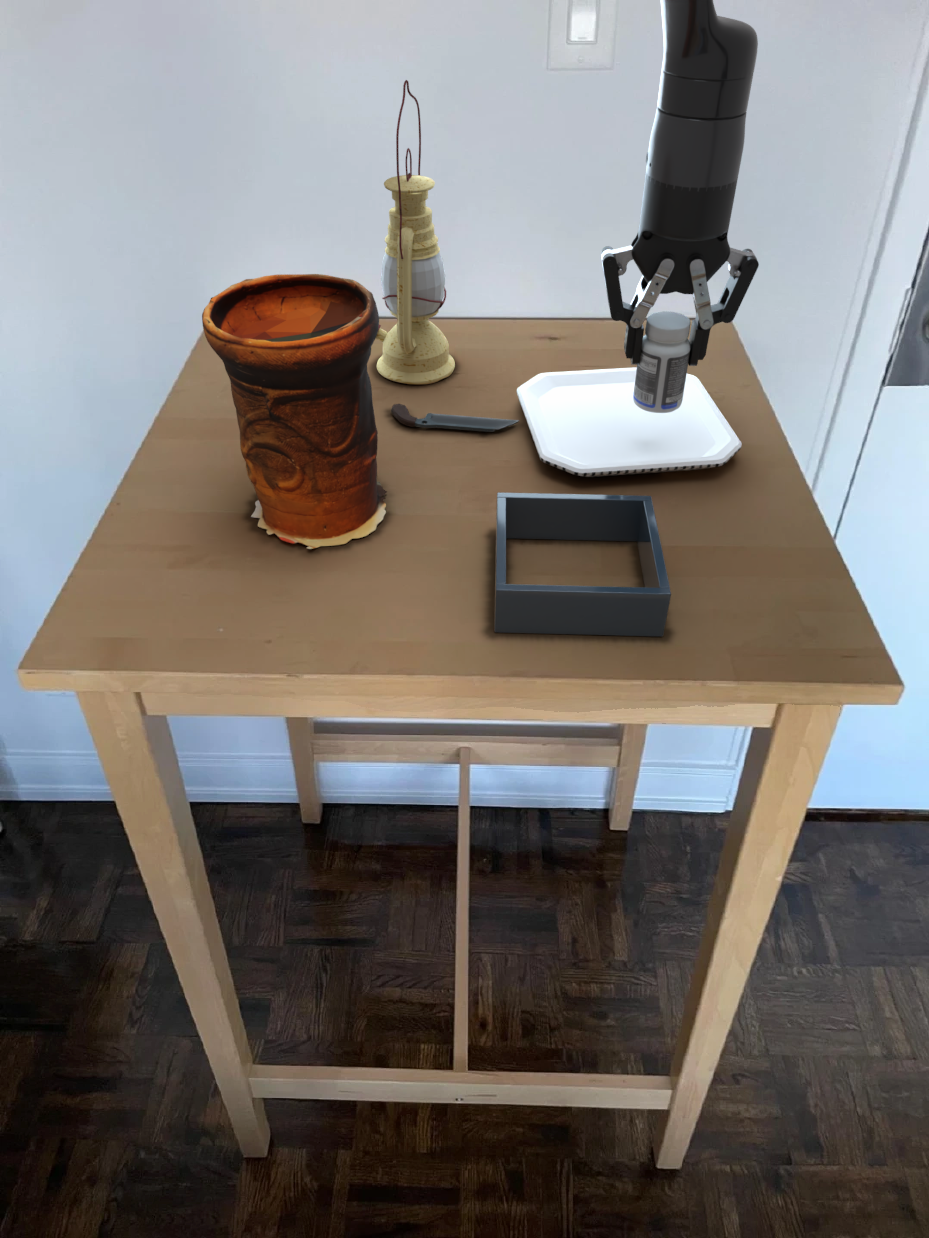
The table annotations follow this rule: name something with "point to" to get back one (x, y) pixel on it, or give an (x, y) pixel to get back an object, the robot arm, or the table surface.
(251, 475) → the vessel
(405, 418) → the knife
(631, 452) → the plate
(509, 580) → the table surface
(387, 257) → the lantern
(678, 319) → the pill bottle
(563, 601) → the square frame
